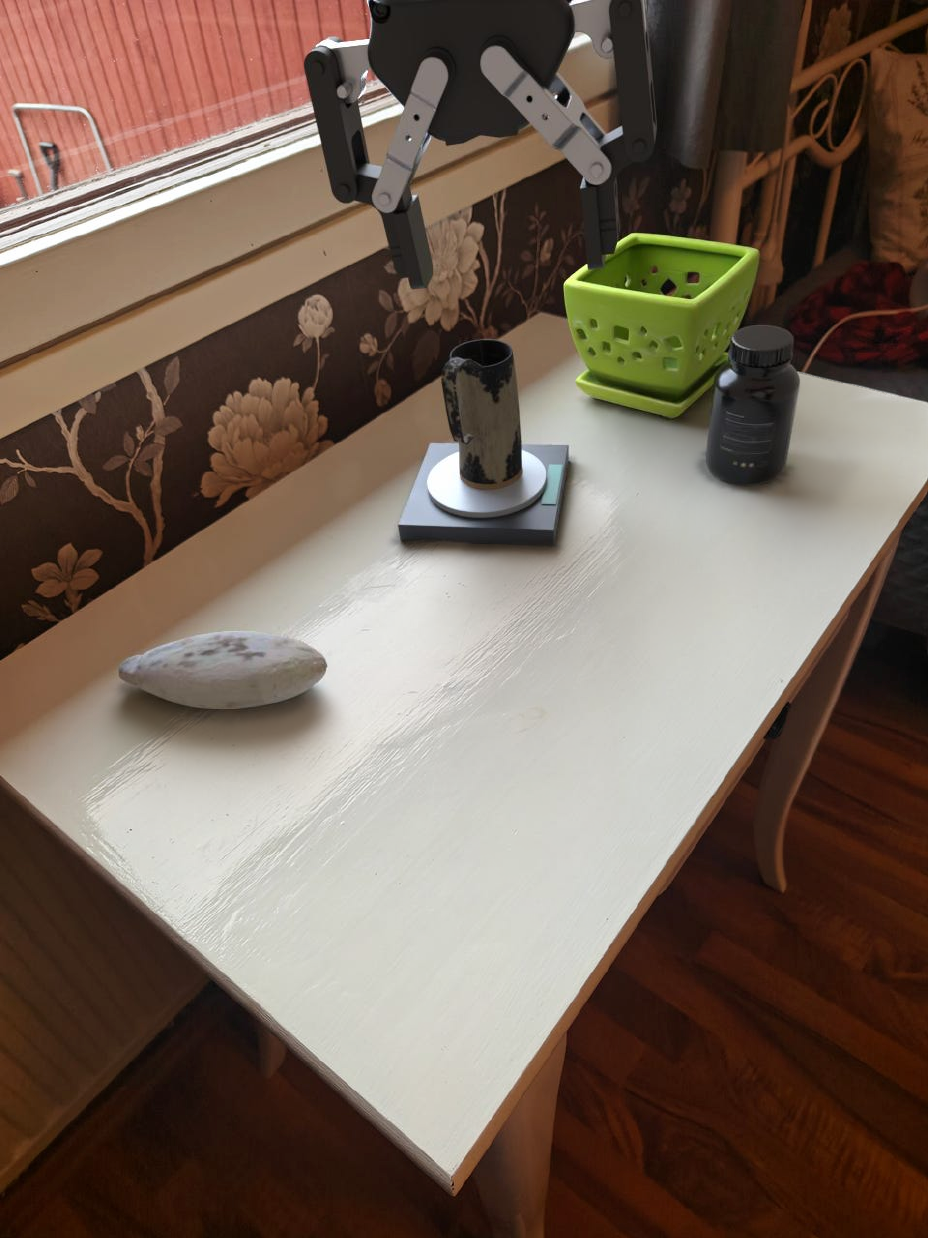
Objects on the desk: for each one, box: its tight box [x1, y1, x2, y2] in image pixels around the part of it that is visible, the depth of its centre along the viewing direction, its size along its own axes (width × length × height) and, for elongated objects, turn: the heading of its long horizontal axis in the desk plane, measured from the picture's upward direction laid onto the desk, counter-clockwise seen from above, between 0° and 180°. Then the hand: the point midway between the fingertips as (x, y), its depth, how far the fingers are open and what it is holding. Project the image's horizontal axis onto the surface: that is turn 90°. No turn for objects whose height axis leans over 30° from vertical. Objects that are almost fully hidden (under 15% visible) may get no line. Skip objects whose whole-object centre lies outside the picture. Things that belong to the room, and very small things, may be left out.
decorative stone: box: [117, 630, 328, 710], centre depth 61 cm, size 6×16×3 cm, turn 86°
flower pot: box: [563, 232, 761, 420], centre depth 84 cm, size 14×14×13 cm
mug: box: [440, 338, 523, 490], centre depth 71 cm, size 8×6×12 cm
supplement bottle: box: [705, 324, 801, 486], centre depth 72 cm, size 7×7×12 cm
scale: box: [397, 442, 570, 547], centre depth 76 cm, size 13×13×2 cm
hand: (507, 272), depth 41 cm, fingers open, 8 cm apart
